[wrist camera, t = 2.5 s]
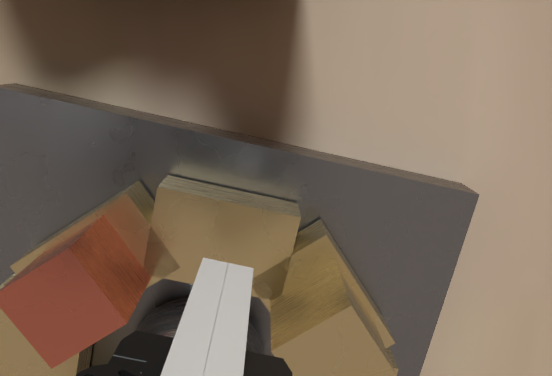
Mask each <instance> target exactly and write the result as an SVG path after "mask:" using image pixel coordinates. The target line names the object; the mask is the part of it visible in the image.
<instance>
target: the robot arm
mask: <svg viewBox="0 0 552 376" xmlns="http://www.w3.org/2000/svg"><path fill="white" fill-rule="evenodd" d="M253 269H254V268H250V267H246V266H241V265H236V264H232V263H227V262H222V261H217V260H213V259H208V258H203V259H202V262H201V265H200V267H199V270H198V273H197V276H196V279H195V281H194V284H193V287H192V290H191V292H190V295H189V298H188V301H187V303H186V306H185V309H184V312H183V315H182V317H181V320H180V323H179V326H178V328H177V331H176V334H175V337H174V338H172V337H167V336H162V335H157V334H152V333H147V332H142V331H137V330H136V331H134V332H133V333H131V334H130V335H128V336H126V337H125V338H123V339H122V340H121V341H120V343H119V345H118V346H117V348H116V350H115V352H114V354H113V356H112V357H111V359H110V361H109V363H108V364H104V365H97V366H92V367H89V368H87V369H85V370H83V371H80V372H79V373H78V374H77V375H76V376H292V371H291V370H290V368H289V367H288V365H287V364H286V362H285V361H284V359H283V358H279V357H274V356H269V355H264V354H259V353H254V352H249V351H246V342H247V331H248V321H249V310H250V300H251V290H252V279H253Z"/></svg>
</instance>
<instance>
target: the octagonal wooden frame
mask: <svg viewBox="0 0 552 376" xmlns="http://www.w3.org/2000/svg"><path fill="white" fill-rule="evenodd" d="M300 220H301V215H300V211H299V206H298V203H294V202H290V201H285V200H281V199H276V198H271V197H267V196H262V195H257V194H253V193H248V192H244V191H239V190H234V189H230V188H225V187H220V186H216V185H211V184H207V183H202V182H197V181H193V180H188V179H183V178H179V177H174V176H170V175H167V176H166V177H165V179H164V180H163V181H162V182H161V183H160V185H159V186H158V187H157V192H156V198H155V202H154V200H153V199H152V197H151V196H150V195H149V193H148V192H147V190H146V189H145V188H144V186H143V185H142V183H141V182H140V181H139V180H138V181H137V182H135V183H133V184H132V185H130V186H129V187H127V188H126V189H124V190H122V191H121V192H119V193H118V194H116V195H115V196H113V197H111V198H110V199H108V200H107V201H105V202H104V203H102V204H101V205H99V206H97V207H96V208H94V209H93V210H91V211H90V212H88V213H86V214H85V215H83V216H82V217H80V218H79V219H77V220H75V221H74V222H72V223H71V224H69V225H68V226H66V227H64V228H63V229H61V230H60V231H58V232H57V233H55V234H54V235H52V236H50V237H49V238H47V239H46V240H44V241H43V242H41V243H39V244H38V245H36V246H35V247H33V248H32V249H31V250H29V251H28V252H27V253H26V254H24V255H23V256H22V257H21V258H19V259H18V260H17V261H16V262H14V263H13V264H12V265H11V266H10V268H11V269H12V270H13V271H14V274H13V275H12V276H11V277H9V278H8V279H7V280H6V281H5V282H4V283H2V284H1V285H0V376H76V375H77V374H78V373H79V372H80V371H83V370H85V369H87V368H89V365H90V359H91V353H92V347H93V344H94V343H96V342H97V341H99V340H101V339H102V338H104V337H106V336H107V335H109V334H110V333H112V332H114V331H115V330H117V329H119V328H120V327H122V326H124V325H125V324H127V323H128V321H129V319H130V317H131V315H132V313H133V311H134V309H135V308H136V306H137V304H138V302H139V300H140V298H141V296H142V294H143V292H144V290H145V289H146V288H148V287H150V286H151V285H153V284H154V283H156V282H158V281H159V280H161V279H163V278H164V279H169V280H174V281H179V282H184V283H189V284H194V281H195V279H196V276H197V273H198V270H199V267H200V265H201V262H202V259H203V258H208V259H213V260H217V261H222V262H227V263H232V264H236V265H241V266H246V267H250V268H254V269H253V279H252V290H251V296H253V297H258V298H260V299H261V301H262V302H263V304H264V305H265V306H266V308H267V309H268V311H269V312H270V320H271V352H272V354H273V355H274V356H275V357H279V358H283V359H284V361H285V362H286V364H287V365H288V367H289V368H290V370H291V371H292V376H397V373H398V370H399V368H398V366H397V364H396V361H395V359H394V357H393V354H392V352H391V350H390V346H391V345H393V344H395V341H394V339H393V337H392V335H391V332H390V330H389V328H388V326H387V324H386V321H385V319H384V318H383V316H382V314H381V313H380V311H379V310H378V308H377V307H376V305H375V303H374V302H373V300H372V299H371V297H370V296H369V294H368V292H367V291H366V289H365V288H364V286H363V285H362V283H361V281H360V280H359V278H358V277H357V275H356V274H355V272H354V270H353V269H352V267H351V266H350V264H349V263H348V261H347V259H346V258H345V256H344V255H343V253H342V252H341V250H340V248H339V247H338V245H337V244H336V242H335V241H334V239H333V237H332V236H331V234H330V233H329V231H328V229H327V228H326V226H325V225H324V223H323V222H322V220H321V219H320V220H318V221H316V222H315V223H313V224H311V225H310V226H308V227H306V228H305V229H303V230H301V231H300V232H298V228H299V224H300ZM297 232H298V233H297Z"/></svg>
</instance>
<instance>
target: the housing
mask: <svg viewBox="0 0 552 376" xmlns="http://www.w3.org/2000/svg"><path fill="white" fill-rule="evenodd" d="M167 175H170V176H174V177H179V178H183V179H188V180H193V181H197V182H202V183H207V184H211V185H216V186H220V187H225V188H230V189H234V190H239V191H244V192H248V193H253V194H257V195H262V196H267V197H271V198H276V199H281V200H285V201H290V202H294V203H298V206H299V211H300V215H301V220H300V224H299V228H298V232H300V231H301V230H303V229H305V228H306V227H308V226H310V225H311V224H313V223H315V222H316V221H318V220H320V219H321V220H322V222H323V223H324V225H325V226H326V228H327V229H328V231H329V233H330V234H331V236H332V237H333V239H334V241H335V242H336V244H337V245H338V247H339V248H340V250H341V252H342V253H343V255H344V256H345V258H346V259H347V261H348V263H349V264H350V266H351V267H352V269H353V270H354V272H355V274H356V275H357V277H358V278H359V280H360V281H361V283H362V285H363V286H364V288H365V289H366V291H367V292H368V294H369V296H370V297H371V299H372V300H373V302H374V303H375V305H376V307H377V308H378V310H379V311H380V313H381V314H382V316H383V318H384V319H385V321H386V324H387V326H388V328H389V330H390V332H391V335H392V337H393V339H394V341H395V344H393V345H391V346H390V350H391V352H392V354H393V357H394V359H395V361H396V364H397V366H398V368H399V370H398V373H397V376H419V375H420V372H421V369H422V366H423V363H424V360H425V357H426V354H427V351H428V348H429V345H430V342H431V339H432V336H433V333H434V330H435V327H436V324H437V321H438V318H439V315H440V312H441V309H442V306H443V303H444V300H445V297H446V294H447V291H448V288H449V285H450V282H451V279H452V276H453V273H454V269H455V266H456V263H457V260H458V257H459V254H460V251H461V248H462V245H463V242H464V239H465V236H466V233H467V230H468V227H469V224H470V221H471V218H472V215H473V212H474V209H475V206H476V203H477V200H478V197H479V194H477V193H476V192H474V191H473V190H471V189H470V188H468V187H466V186H465V185H463V184H462V183H457V182H453V181H448V180H444V179H439V178H435V177H430V176H426V175H422V174H417V173H413V172H408V171H404V170H399V169H395V168H390V167H386V166H381V165H377V164H372V163H368V162H364V161H359V160H355V159H350V158H346V157H341V156H337V155H332V154H328V153H323V152H319V151H314V150H310V149H306V148H301V147H297V146H292V145H288V144H283V143H279V142H274V141H270V140H265V139H261V138H256V137H252V136H247V135H243V134H239V133H234V132H230V131H225V130H221V129H216V128H212V127H207V126H203V125H198V124H194V123H189V122H185V121H181V120H176V119H172V118H167V117H163V116H158V115H154V114H149V113H145V112H140V111H136V110H131V109H127V108H123V107H118V106H114V105H109V104H105V103H100V102H96V101H91V100H87V99H82V98H78V97H73V96H69V95H65V94H60V93H56V92H51V91H47V90H42V89H38V88H33V87H29V86H24V85H20V84H4V85H0V285H1V284H2V283H4V282H5V281H6V280H7V279H8V278H9V277H11V276H12V275H13V274H14V271H13V270H12V269H11V268H10V266H11V265H12V264H13V263H14V262H16V261H17V260H18V259H19V258H21V257H22V256H23V255H24V254H26V253H27V252H28V251H29V250H31V249H32V248H33V247H35V246H36V245H38V244H39V243H41V242H43V241H44V240H46V239H47V238H49V237H50V236H52V235H54V234H55V233H57V232H58V231H60V230H61V229H63V228H64V227H66V226H68V225H69V224H71V223H72V222H74V221H75V220H77V219H79V218H80V217H82V216H83V215H85V214H86V213H88V212H90V211H91V210H93V209H94V208H96V207H97V206H99V205H101V204H102V203H104V202H105V201H107V200H108V199H110V198H111V197H113V196H115V195H116V194H118V193H119V192H121V191H122V190H124V189H126V188H127V187H129V186H130V185H132V184H133V183H135V182H137V181H138V180H139V181H140V182H141V183H142V185H143V186H144V188H145V189H146V190H147V192H148V193H149V195H150V196H151V197H152V199H153V200H154V202H155V198H156V192H157V187H158V186H159V185H160V183H161V182H162V181H163V180H164V179H165V177H166V176H167ZM298 232H297V233H298ZM192 287H193V284H189V283H184V282H179V281H174V280H169V279H164V278H163V279H161V280H159V281H158V282H156V283H154V284H153V285H151V286H150V287H148V288H146V289H145V290H144V292H143V294H142V296H141V298H140V300H139V302H138V304H137V306H136V308H135V309H134V311H133V313H132V315H131V317H130V319H129V321H128V323H127V324H125V325H124V326H122V327H120V328H119V329H117V330H115V331H114V332H112V333H110V334H109V335H107V336H106V337H104V338H102V339H101V340H99V341H97V342H96V343H94V344H93V347H92V353H91V359H90V365H89V367H92V366H97V365H104V364H108V363H109V361H110V359H111V357H112V356H113V354H114V352H115V350H116V348H117V346H118V345H119V343H120V341H121V340H122V339H123V338H125V337H126V336H128V335H130V334H131V333H133V332H134V331H136V330H137V331H142V332H147V333H152V334H157V335H162V336H167V337H172V338H174V337H175V334H176V331H177V328H178V326H179V323H180V320H181V317H182V315H183V312H184V309H185V306H186V303H187V301H188V298H189V295H190V292H191V290H192ZM246 351H249V352H254V353H259V354H264V355H269V356H274V355H273V354H272V352H271V320H270V312H269V311H268V309H267V308H266V306H265V305H264V304H263V302H262V301H261V299H260V298H258V297H253V296H251V300H250V310H249V321H248V331H247V342H246ZM274 357H275V356H274Z"/></svg>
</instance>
